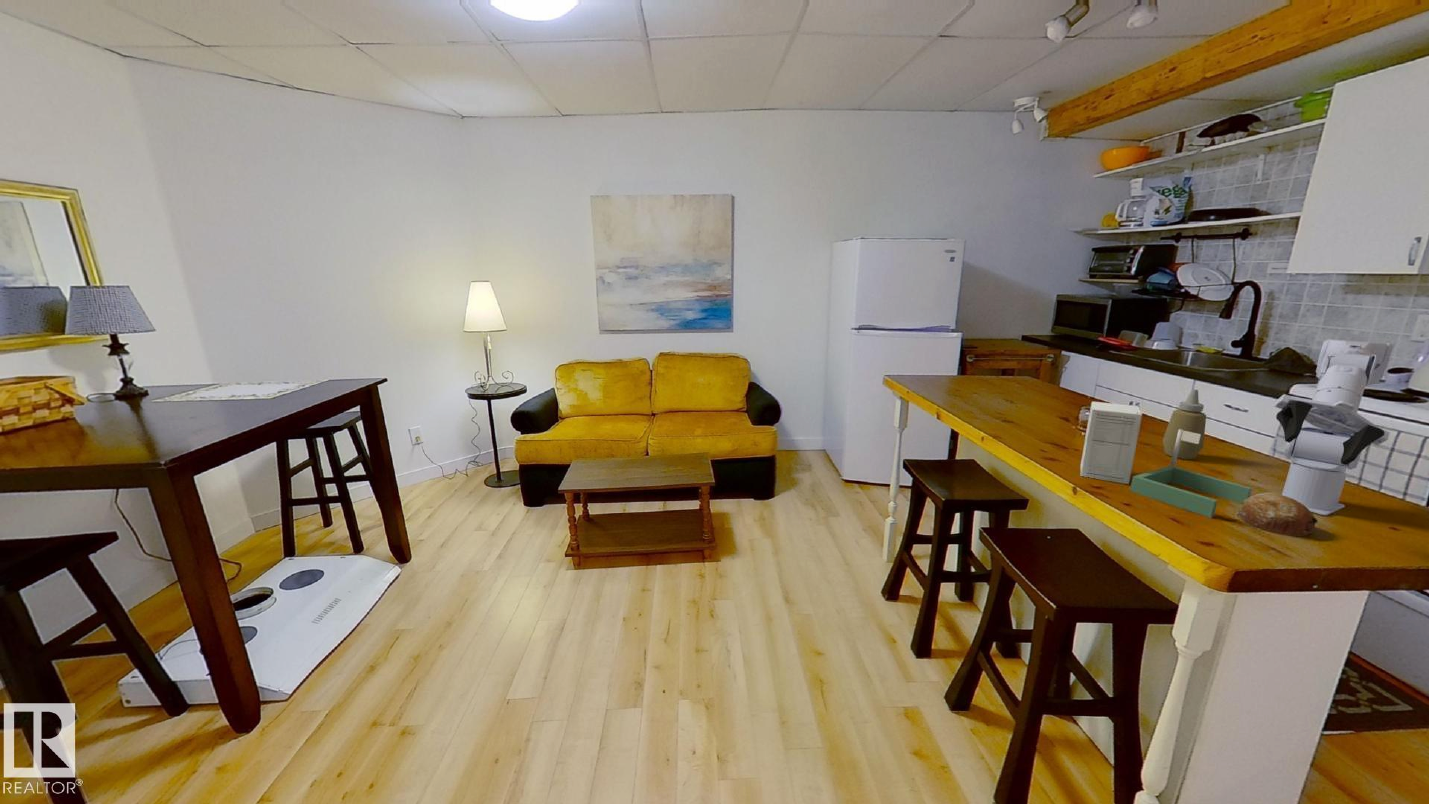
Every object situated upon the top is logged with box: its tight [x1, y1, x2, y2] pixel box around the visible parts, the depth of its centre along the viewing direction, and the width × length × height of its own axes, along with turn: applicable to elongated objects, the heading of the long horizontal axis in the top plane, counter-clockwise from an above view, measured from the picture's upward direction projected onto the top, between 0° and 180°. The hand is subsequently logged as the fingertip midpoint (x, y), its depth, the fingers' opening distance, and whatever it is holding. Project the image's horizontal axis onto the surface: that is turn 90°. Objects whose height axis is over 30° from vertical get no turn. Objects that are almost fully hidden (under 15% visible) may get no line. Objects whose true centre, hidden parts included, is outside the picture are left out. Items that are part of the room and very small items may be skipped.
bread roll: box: [1236, 492, 1319, 537], centre depth 100 cm, size 10×10×8 cm
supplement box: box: [1079, 401, 1143, 485], centre depth 122 cm, size 10×9×17 cm
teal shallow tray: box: [1129, 429, 1253, 519], centre depth 110 cm, size 15×14×12 cm
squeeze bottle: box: [1162, 388, 1207, 460], centre depth 134 cm, size 8×8×18 cm
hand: (1318, 449), depth 91 cm, fingers open, 7 cm apart
